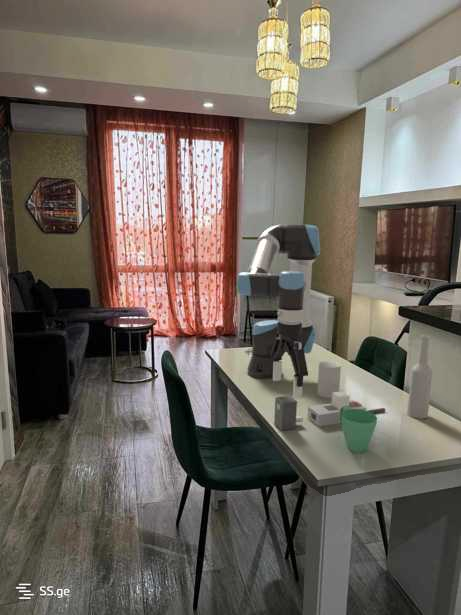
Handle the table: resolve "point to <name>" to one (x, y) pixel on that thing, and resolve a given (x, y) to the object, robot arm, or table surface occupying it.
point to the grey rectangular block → (286, 413)
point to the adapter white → (340, 399)
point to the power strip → (332, 413)
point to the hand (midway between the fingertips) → (286, 387)
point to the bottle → (420, 384)
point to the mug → (357, 428)
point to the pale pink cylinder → (328, 378)
